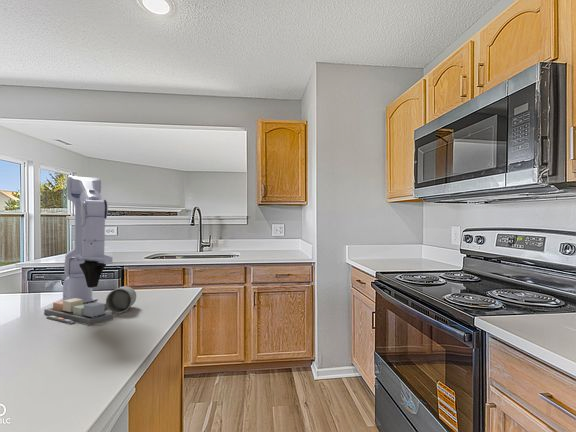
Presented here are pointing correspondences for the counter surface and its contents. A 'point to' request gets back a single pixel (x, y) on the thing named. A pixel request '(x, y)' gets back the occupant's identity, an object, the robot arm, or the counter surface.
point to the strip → (61, 319)
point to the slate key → (94, 309)
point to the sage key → (78, 310)
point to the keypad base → (77, 318)
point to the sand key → (71, 304)
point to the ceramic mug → (120, 299)
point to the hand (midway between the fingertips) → (92, 286)
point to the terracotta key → (58, 306)
